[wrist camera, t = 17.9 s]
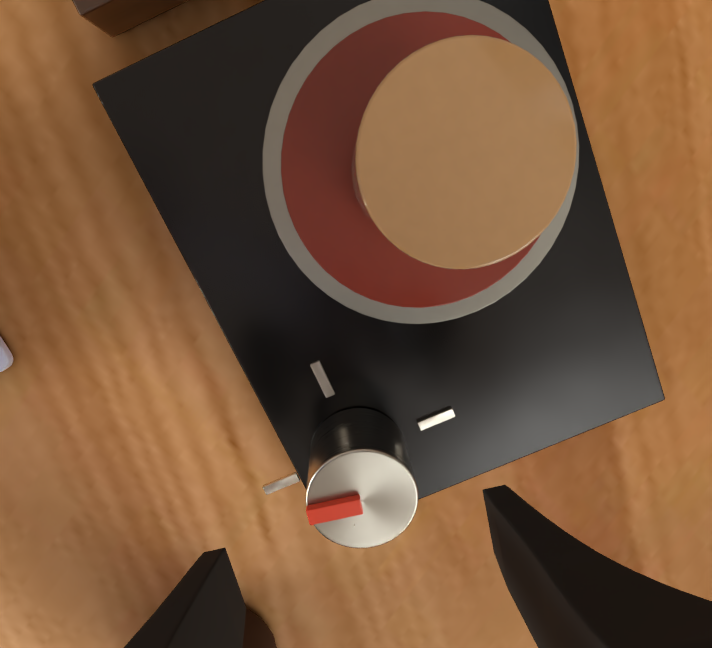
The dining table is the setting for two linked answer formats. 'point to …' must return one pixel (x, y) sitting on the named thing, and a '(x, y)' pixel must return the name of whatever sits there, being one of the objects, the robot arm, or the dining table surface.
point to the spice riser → (122, 12)
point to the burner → (334, 159)
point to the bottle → (256, 633)
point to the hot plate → (348, 327)
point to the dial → (360, 479)
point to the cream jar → (465, 152)
